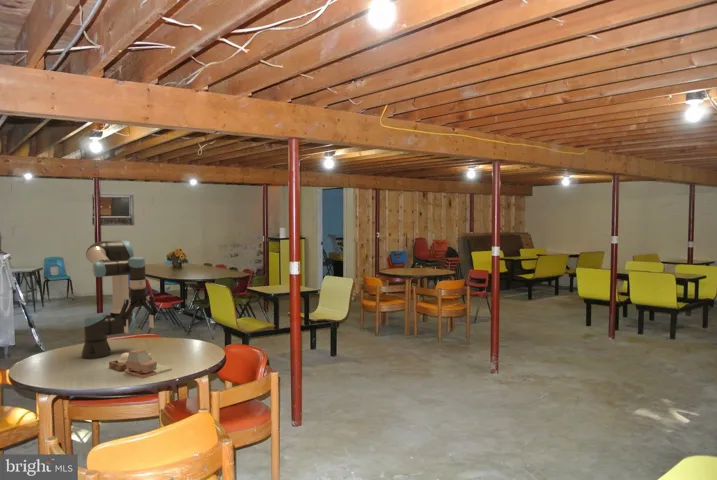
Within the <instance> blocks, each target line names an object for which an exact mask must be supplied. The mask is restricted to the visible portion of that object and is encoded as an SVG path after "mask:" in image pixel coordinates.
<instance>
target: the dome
mask: <svg viewBox="0 0 717 480" xmlns="http://www.w3.org/2000/svg"><path fill="white" fill-rule="evenodd" d="M128 356H129V352H123V353H122V354H120V356H119V358H117V360H118V363H119V364H122V365H123V364H126V361H127V360H128Z"/></svg>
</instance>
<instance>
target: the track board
mask: <svg viewBox="0 0 717 480" xmlns="http://www.w3.org/2000/svg"><path fill="white" fill-rule="evenodd" d="M172 370H173V368H172V367H169V366H166V365H162V364H159V363H157V366H156V370H154V371H151V372H147V373H144V374H140V372H138V371H132V372H129V370H128V369H126V370H125V371H124V373H128V374H130V375H132V376H133V375H134V376H136V377H140V378H146V377H147V378H148V377H151V376H154V375H160V374H162V373H166V372H170V371H172Z"/></svg>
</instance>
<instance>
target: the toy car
mask: <svg viewBox="0 0 717 480" xmlns="http://www.w3.org/2000/svg"><path fill="white" fill-rule="evenodd" d="M128 353H129V356H128V360H127V361H126V368H127V369H128V370H129V372H132V371H138V372H140V374H144V373H147V372H151V371H154V370H156V366H157V364H158V361H157V360H153V357H152V358H149V356H148V354H147V353H148V352H147V351H146V350H144V349H139V348H138V349H134V350H130V351H129V352H128Z"/></svg>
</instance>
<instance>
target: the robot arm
mask: <svg viewBox="0 0 717 480" xmlns="http://www.w3.org/2000/svg"><path fill="white" fill-rule="evenodd" d="M134 255H135V254H134V249H133V245H132V242H131V241H129V240H124V239H123V240H122V239H121V240H120V239H119V240H103V241H102V240H100V241H98V242H94V243H93V244H91V245H89V246H88V248H87V249H86V251H85V256H86V259H87V261H89V262H90V263H91V264H92V273H93V276H94V277H95V278H104V277H111V281H112V283H111V284H112V285H111V286H112V292H111V293H112V309H111V310H110V313H109V314H108V315H107V313H106V312H99V313H93V314H89V315H87V316H86V317H84V319H83V325H82V326H83V338H84V339H83V340H84V344H83V347H82V351H81V354H80V355H81V358H82V359H87V360H89V359H90V360H92V359H93V360H94V359H100V358H106V357H108V356H110V355H111V354H112V348H111V346H110V345H109V342H108V336H115V335H123V334H124V335H125V334H129V333H132V332H134V330H135V328H136V327H135V326H136V313H135V312H133V311H134V309H135V308H140V307H143V308H144V309H145V310H147V312H148V313H149V315H148V320H149V325H148V326H149V328H150V329H154V328H155V326H154V325H155V322H154V321H156V317H155V316H156V315H157V314H158V313H159V309H158V308H157V306H156V304H155V302H154V301H153V296H151V295H147V289H146V287H147V286H146V285H147V283H146V259H145V257H143V256H134ZM129 288H130V289H129ZM146 301H147V302H146Z"/></svg>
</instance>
